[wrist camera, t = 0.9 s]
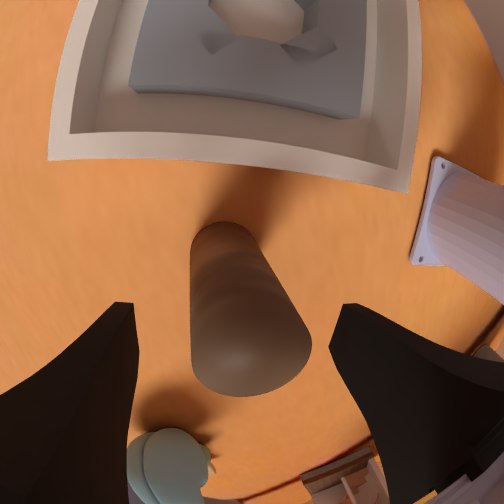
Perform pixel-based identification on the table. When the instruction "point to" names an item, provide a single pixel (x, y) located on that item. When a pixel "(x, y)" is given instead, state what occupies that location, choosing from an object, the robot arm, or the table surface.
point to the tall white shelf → (348, 481)
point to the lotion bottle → (488, 354)
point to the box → (244, 85)
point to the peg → (241, 316)
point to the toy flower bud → (168, 467)
